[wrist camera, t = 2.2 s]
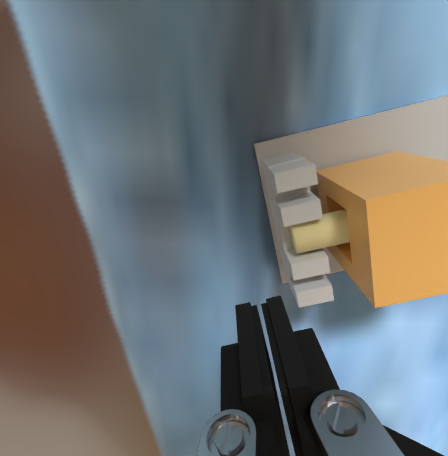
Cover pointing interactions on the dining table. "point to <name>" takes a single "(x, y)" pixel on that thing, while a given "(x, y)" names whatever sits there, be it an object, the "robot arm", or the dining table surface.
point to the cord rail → (307, 183)
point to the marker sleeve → (391, 224)
